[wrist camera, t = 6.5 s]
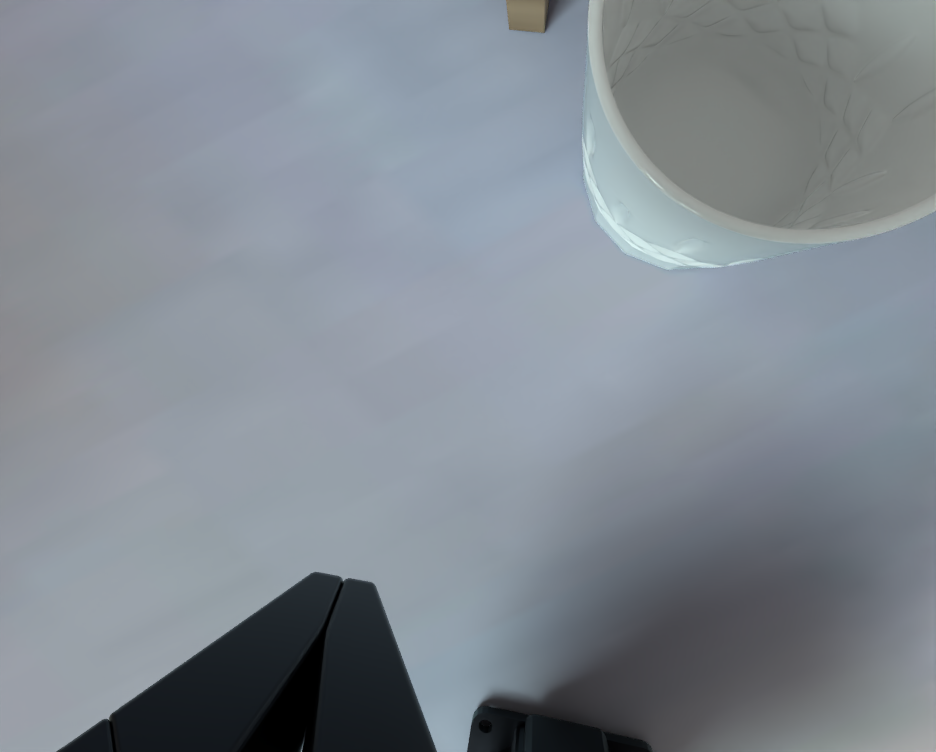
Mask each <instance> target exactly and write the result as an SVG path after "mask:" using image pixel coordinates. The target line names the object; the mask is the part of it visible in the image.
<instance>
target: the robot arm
mask: <svg viewBox="0 0 936 752" xmlns="http://www.w3.org/2000/svg"><path fill="white" fill-rule="evenodd" d="M481 720H488V721H490V722H491V723H492V724H491V725H490V726H484V725H482V724H481V722H480V721H481ZM302 747H303V748H302ZM301 750H302V752H437V751H436V748H435V745H434V742H433V740H432V737H431V734H430V732H429V729H428V726H427V724H426V721H425V718H424V715H423V713H422V710H421V707H420V705H419V702H418V699H417V697H416V694H415V691H414V688H413V686H412V683H411V680H410V678H409V675H408V672H407V669H406V667H405V664H404V661H403V659H402V656H401V653H400V651H399V648H398V645H397V642H396V640H395V637H394V634H393V632H392V629H391V626H390V624H389V621H388V618H387V615H386V613H385V610H384V607H383V605H382V602H381V599H380V597H379V594H378V591H377V588H376V586H375V585H374V584H373V583H372V582H368V581H362V580H357V579H351V578H348V579H345V580H344V582H343V579H342V578H341V577H340V576H335V575H330V574H325V573H320V572H314V573H311V574H310V575H308V576H307V577H305V578H304V579H303V580H301V581H300V582H298V583H297V584H295V585H294V586H293V587H291V588H290V589H288V590H287V591H285V592H284V593H283V594H281V595H280V596H278V597H277V598H276V599H274V600H273V601H271V602H270V603H268V604H267V605H266V606H264V607H263V608H261V609H260V610H258V611H257V612H256V613H254V614H253V615H251V616H250V617H248V618H247V619H246V620H244V621H243V622H241V623H240V624H239V625H237V626H236V627H234V628H233V629H231V630H230V631H229V632H227V633H226V634H224V635H223V636H221V637H220V638H219V639H217V640H216V641H214V642H213V643H211V644H210V645H209V646H207V647H206V648H204V649H203V650H202V651H200V652H199V653H197V654H196V655H194V656H193V657H192V658H190V659H189V660H187V661H186V662H184V663H183V664H182V665H180V666H179V667H177V668H176V669H174V670H173V671H172V672H170V673H169V674H167V675H166V676H165V677H163V678H162V679H160V680H159V681H157V682H156V683H155V684H153V685H152V686H150V687H149V688H147V689H146V690H145V691H143V692H142V693H140V694H139V695H137V696H136V697H135V698H133V699H132V700H130V701H129V702H128V703H126V704H125V705H123V706H122V707H120V708H119V709H118V710H116V711H115V712H113V713H112V714H111V715H110V717H109V720H108V719H103V720H101V721H100V722H99V723H97V724H96V725H94V726H93V727H91V728H90V729H89V730H87V731H86V732H84V733H83V734H81V735H80V736H79V737H77V738H76V739H74V740H73V741H72V742H70V743H69V744H67V745H66V746H64V747H63V748H61V749H60V750H58V751H57V752H301ZM467 752H653V750H652V748H651V746H650V745H649V744H648V743H647V742H644V741H642V740H638V739H633V738H629V737H624V736H620V735H615V734H611V733H606V732H602V731H601V730H600V729H599V728H594V727H590V726H585V725H581V724H576V723H572V722H567V721H563V720H558V719H553V718H549V717H544V716H540V715H535V714H534V715H531V716H529V715H525V714H520V713H516V712H511V711H507V710H502V709H498V708H493V707H489V706H483V707H480V708H478V709H477V710H476V711H475V712H474V715H473V719H472V725H471V731H470V737H469V743H468V750H467Z"/></svg>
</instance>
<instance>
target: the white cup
mask: <svg viewBox="0 0 936 752" xmlns="http://www.w3.org/2000/svg"><path fill="white" fill-rule="evenodd" d="M582 153H583V163H584V170H583V180H584V184H585V187H586V191H587V194H588V198H589V201H590V205H591V209H592V212H593V216H594V219H595V221H596V223H597V224H598V225H599V226H600V227H601V228H602V229H603V230H604V231H605V232H606V234H607V235H608V236H609V237H610V238H611V239H612V240H613V241H614V242H615V243H616V244H617V246H618V247H619V248H620V249H621V250H622V251H623V252H624V253H625V254H627V255H629V256H632V257H635V258H637V259H640V260H642V261H645V262H647V263H650V264H653V265H655V266H658V267H660V268H663V269H665V270H678V269H691V268H717V267H725V266H732V265H738V264H745V263H751V262H757V261H762V260H766V259H771V258H775V257H780V256H784V255H788V254H793V253H797V252H802V251H806V250H810V249H815V248H819V247H824V246H828V245H833V244H838V243H842V242H847V241H852V240H856V239H861V238H866V237H870V236H874V235H878V234H881V233H884V232H888V231H891V230H894V229H897V228H899V227H902V226H905V225H907V224H910V223H912V222H914V221H917V220H919V219H921V218H923V217H925V216H927V215H929V214H931V213H933V212H935V211H936V0H589V8H588V26H587V46H586V64H585V79H584V93H583V108H582Z"/></svg>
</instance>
